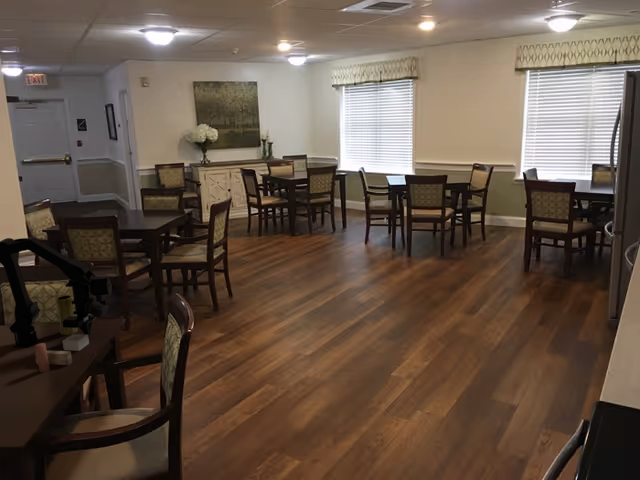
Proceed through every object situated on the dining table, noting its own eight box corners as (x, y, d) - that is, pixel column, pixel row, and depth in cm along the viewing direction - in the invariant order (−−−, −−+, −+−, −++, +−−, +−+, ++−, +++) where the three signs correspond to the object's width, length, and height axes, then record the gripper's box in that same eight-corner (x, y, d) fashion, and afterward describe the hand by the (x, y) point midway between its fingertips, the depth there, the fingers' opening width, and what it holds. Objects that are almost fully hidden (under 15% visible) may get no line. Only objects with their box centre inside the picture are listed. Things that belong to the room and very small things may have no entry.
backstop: (36, 363, 174) (34, 352, 173) (40, 360, 176) (38, 350, 175) (68, 365, 172) (66, 354, 171) (72, 362, 174) (70, 351, 173)
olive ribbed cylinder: (81, 328, 202) (75, 294, 199) (72, 335, 196) (66, 300, 193) (66, 328, 203) (61, 294, 199) (57, 335, 197) (51, 300, 193)
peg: (37, 372, 168) (32, 346, 166) (43, 367, 171) (39, 342, 169) (45, 372, 168) (41, 347, 166) (51, 368, 171) (47, 343, 168)
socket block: (63, 350, 184) (62, 341, 183) (74, 342, 189) (72, 334, 189) (79, 350, 183) (77, 341, 182) (89, 343, 189) (87, 334, 188)
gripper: (87, 306, 179) (93, 347, 183) (115, 288, 197) (120, 326, 201) (58, 305, 181) (64, 346, 184) (89, 288, 199) (94, 325, 202)
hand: (87, 335), depth 193 cm, fingers closed
